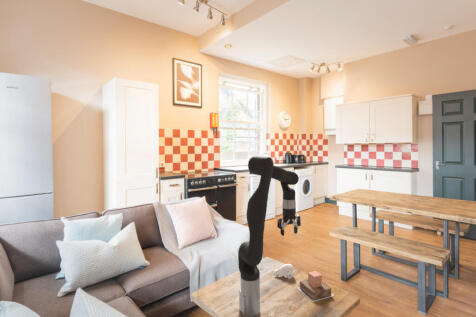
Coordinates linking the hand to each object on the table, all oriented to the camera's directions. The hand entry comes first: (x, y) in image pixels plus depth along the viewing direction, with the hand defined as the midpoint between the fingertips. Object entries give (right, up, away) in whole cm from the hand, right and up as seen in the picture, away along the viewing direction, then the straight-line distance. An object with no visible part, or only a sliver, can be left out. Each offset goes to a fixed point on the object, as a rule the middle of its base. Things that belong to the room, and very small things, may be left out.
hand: (289, 234), depth 152 cm
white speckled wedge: (-2, -28, +6) cm, 29 cm away
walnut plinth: (+12, -28, -11) cm, 32 cm away
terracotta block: (+12, -24, -11) cm, 29 cm away
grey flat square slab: (+12, -29, -11) cm, 33 cm away
